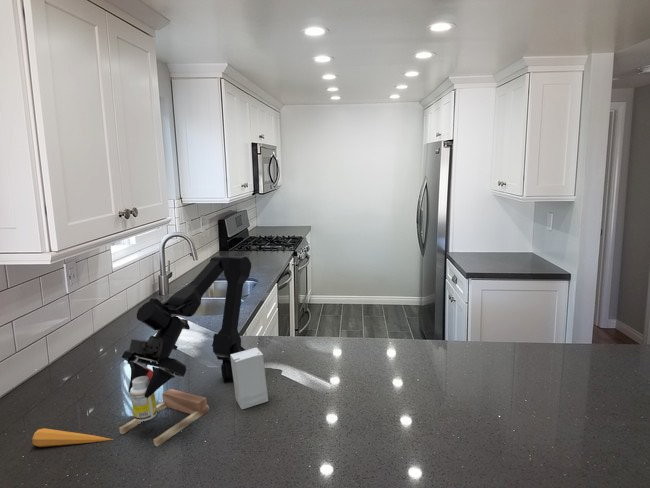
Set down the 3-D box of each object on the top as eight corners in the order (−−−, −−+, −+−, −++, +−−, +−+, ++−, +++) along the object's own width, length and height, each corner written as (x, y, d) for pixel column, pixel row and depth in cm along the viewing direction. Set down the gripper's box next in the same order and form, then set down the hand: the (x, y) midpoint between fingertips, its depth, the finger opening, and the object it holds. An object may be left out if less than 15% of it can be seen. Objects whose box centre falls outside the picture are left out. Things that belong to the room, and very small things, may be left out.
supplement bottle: (150, 408, 121) (145, 372, 119) (161, 414, 118) (156, 377, 116) (130, 418, 117) (124, 380, 115) (141, 424, 113) (135, 386, 112)
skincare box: (262, 393, 135) (257, 346, 132) (269, 402, 129) (264, 353, 127) (234, 401, 131) (229, 352, 129) (240, 411, 126) (234, 360, 123)
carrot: (32, 451, 115) (26, 439, 113) (41, 435, 119) (36, 424, 116) (112, 453, 115) (108, 441, 113) (119, 437, 119) (115, 426, 117)
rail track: (173, 400, 134) (171, 387, 134) (209, 410, 127) (207, 397, 127) (119, 433, 119) (117, 418, 118) (157, 446, 112) (155, 431, 111)
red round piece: (149, 394, 139) (146, 370, 138) (132, 394, 140) (129, 369, 139) (160, 385, 144) (156, 361, 143) (143, 385, 146) (140, 361, 144)
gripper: (122, 320, 121) (90, 377, 114) (171, 329, 112) (140, 391, 105) (150, 338, 129) (122, 392, 122) (198, 347, 120) (171, 406, 113)
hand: (137, 395), depth 115 cm, fingers closed on supplement bottle, 6 cm apart
